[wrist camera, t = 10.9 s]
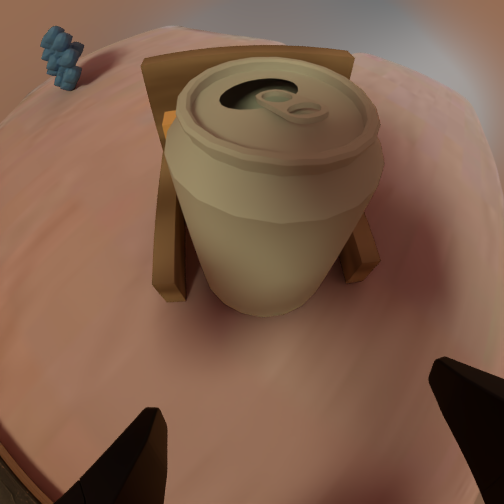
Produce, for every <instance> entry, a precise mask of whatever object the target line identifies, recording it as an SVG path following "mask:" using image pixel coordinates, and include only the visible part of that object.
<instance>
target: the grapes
mask: <svg viewBox="0 0 504 504" xmlns="http://www.w3.org/2000/svg"><path fill="white" fill-rule="evenodd" d="M72 37H73V36H71V35H70V34H68V33H65V32H64V29H63V28H61V27H58V26H53V27H51V28H50V29H49V30H48V32H47V33H46V34H45V35H44V37H43V39H42V42H41V45H40V46H41V47H43V48H45V49H44V52H43V55H42V58H41V59H42V60H45V61H48V64H47V69H48V71H47V74H49V75H52V76H56V78H55V82H54V85H55V86H58V87H60V88H61V89H63V90H67V91H70V90H73V89H74V88H75V86H76V84H77V81H78V80H79V78H80V75H81V71H82V68H80V67H78V66H76V63H77V61H78V58H79V57H80V56H81V54H82V52H83V48H84V45H83V44H81V43H79V42H73V43H71V41H72Z"/></svg>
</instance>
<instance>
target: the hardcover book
mask: <svg viewBox="0 0 504 504" xmlns="http://www.w3.org/2000/svg"><path fill="white" fill-rule="evenodd" d="M0 504H53V502H52V501H51V500H50V499H49V498H48V497H47V496H46V495H45V494H44V493H43V492H42V491H41V490H40V489H39V488H38V487H37V486H36V485H35V484H34V482H33V481H32V480H31V479H30V478H29V477H28V476H27V475H26V474H25V472H24V471H23V470H22V469H21V468H20V467H19V465H18V464H17V463H16V462H15V461H14V459H13V458H12V457H11V456H10V454H9V453H8V452H7V450H6V449H5V448H4V446H3V445H2V444H1V442H0Z"/></svg>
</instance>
